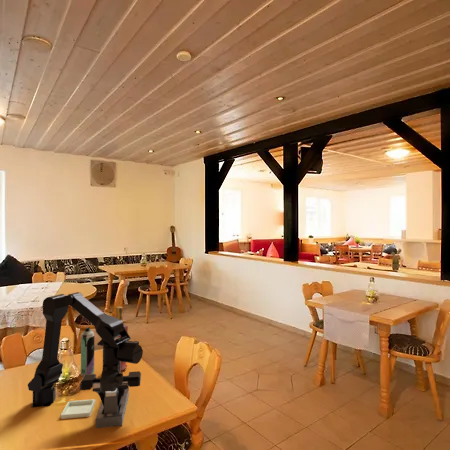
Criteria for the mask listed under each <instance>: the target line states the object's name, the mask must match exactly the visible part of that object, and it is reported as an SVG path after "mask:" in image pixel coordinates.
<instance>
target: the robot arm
mask: <svg viewBox="0 0 450 450" xmlns="http://www.w3.org/2000/svg"><path fill="white" fill-rule="evenodd" d="M69 307H71V308H73V309H74V310H75V311H76V312H78V313H79V314H80V316H82V317H83V318H84V319H86V320H87V321H88V322H89V323H91V324H92V325H93V327H94V329H95V333H96V334H97V335H98V336H99V337H100V339H101V340H99V341H98V342H97V343H96V345H97V346H100V347H102V371H101V374H100V377H97V374H96V373H94V374H90V375H85V376H82V379H81V380H80V383H79V386H80V387H79V390H80V391H89V390H91V389H92V392H94V393H97V394H98V396H99V398H100V399H99V400H100V401H101V403H102V404H103V406H104V397H105V393H106V391H111V392H112V391H115V390H116V388H117V387H119V385H120V387H119V394H118V401H117V403H118V406H119V404H120V400H121V397H122V394H123V392H124V390H125V389H128V388H129V389H130V388H133V387H140V386H141V381H142V373H141V371H139V370H138V371H136V370H135V371H129V372H128V375H124V373H122V371H121V361H122V362H126V364H128V363H130V364H133V365H136V364H139V363H140V361H141V360H142V358H143V355H144V350H143V348H142V345H140V341H139V340H133V341H132V340H131V337H130V335H129V333H128V331H126V329H125V328H124V326H123V325H125V324H124V322H122V321H123V320H122V321H121V320H119V319H117V318H116V317H115V316H114V315H113V316H112V315H108V314H106V313H104V312H103V311H102V310H101V309H99V308H98V307H97V306H95V304H93V303H92V302H91V301H90V300H88V299H87V298H86V297H85V296H83V294H82V292H77V291H76V292H73V293H68V294H64V293H60V294H55V295H53V296H48V297H46V298H44V299H43V301H42V314H43V316H44V318H45V320H46V323H45V330H44V331H45V333H44V340H43V347H42V357H41V360H40V362H39V363H38V365H37V366H36V368H35V372H34V376H33V378H32V379H31V380H30V381H29V382H28V383H27V389H28V390H29V391H31V392H32V405H31V406H30V408H43V407H51V405H52V404H54V402H55V400H56V396H57V395H56V393H57V392H56V389H57V388H56V387H55V384H57V383H58V382H59V379H60V377H61V375H63V367H64V363H62V362H60V360H59V359H58V354H59V348H60V339H61V331H62V323H63V319H64V318H65V316H66V315H67V313H68V311H69ZM119 336H121V337H120V338H118V339H116V340H114V338H117V337H119Z"/></svg>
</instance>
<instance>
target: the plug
mask: <svg viewBox="0 0 450 450" xmlns="http://www.w3.org/2000/svg"><path fill="white" fill-rule="evenodd" d="M105 393H106V394H105V397H104V414H109V413H118V412H119V406H118V403H117V401H118V394H119V391H117V388H116V390H115V391H112V392H111V391H107V392H106V391H105Z"/></svg>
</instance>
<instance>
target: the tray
mask: <svg viewBox="0 0 450 450" xmlns="http://www.w3.org/2000/svg"><path fill="white" fill-rule="evenodd" d="M95 404H96V398H95V399H94V398H92V399H80V400H69V401H68V402H67V403H66V405H65V406H64V409H63V410H62V411H61V414H60V420H61V419H62V420H64V419H65V420H66V419H75V418H76V419H77V418H86V417H87V418H89V417H91V414H92V412H93V409H94V406H95Z"/></svg>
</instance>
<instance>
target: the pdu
mask: <svg viewBox="0 0 450 450" xmlns="http://www.w3.org/2000/svg"><path fill="white" fill-rule="evenodd" d="M119 387H120V385H119ZM119 387H117V391H119ZM106 392H107V391H105V394H106ZM129 396H130V387H129V388H128V389H125V390H124V392H123V394H122V397H121V400H120V404H119V412H118V413H109V414H104V406H103V404H102V402H101V403H100V406H99V409H98V412H97V415H96V417H95V429H101V428H102V429H103V428H115V427H123V424H124V419H125V414H126V409H127V405H128V401H129Z"/></svg>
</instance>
